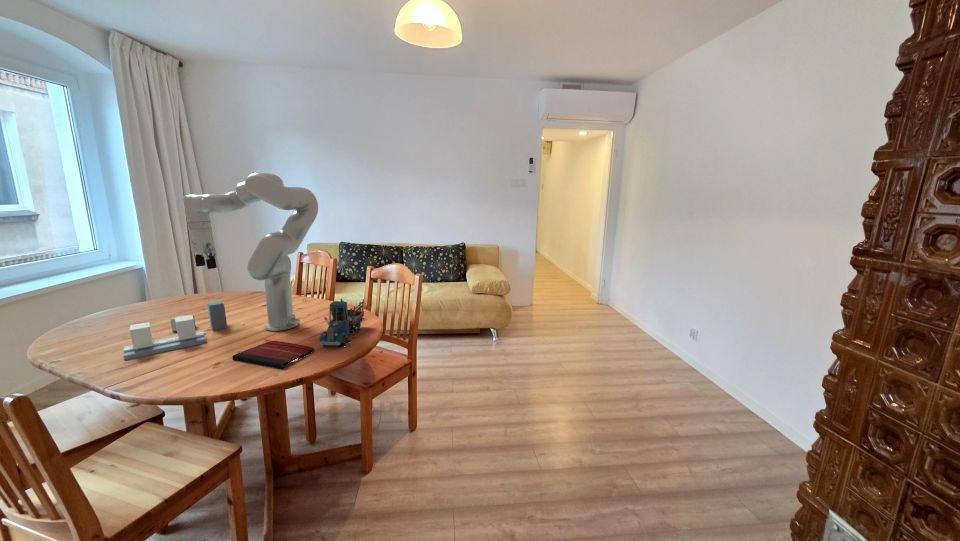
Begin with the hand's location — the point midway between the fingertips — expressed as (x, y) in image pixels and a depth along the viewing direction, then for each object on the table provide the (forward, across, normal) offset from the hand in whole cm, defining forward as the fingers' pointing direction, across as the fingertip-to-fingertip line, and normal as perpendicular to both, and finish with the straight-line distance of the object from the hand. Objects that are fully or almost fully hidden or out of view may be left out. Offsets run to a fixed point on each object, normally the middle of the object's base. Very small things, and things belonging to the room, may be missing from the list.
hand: (206, 267), depth 150 cm
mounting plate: (+24, +12, -21) cm, 34 cm away
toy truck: (+26, +57, +20) cm, 66 cm away
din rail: (+23, +12, -21) cm, 33 cm away
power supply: (+24, -3, -10) cm, 27 cm away
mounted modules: (+22, +12, -21) cm, 33 cm away
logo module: (+24, +6, -2) cm, 25 cm away
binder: (+26, +51, -4) cm, 57 cm away
